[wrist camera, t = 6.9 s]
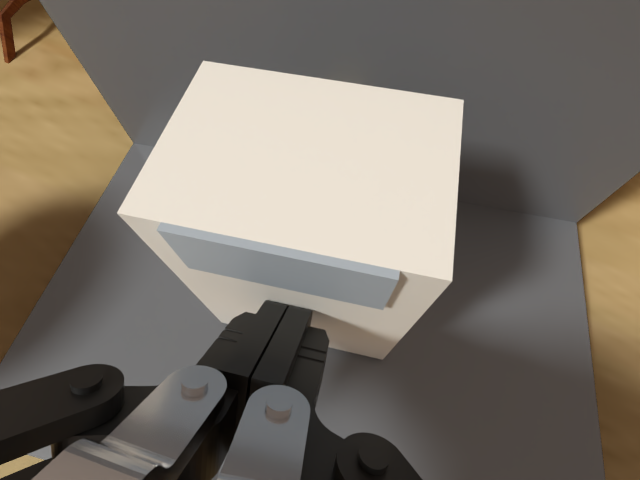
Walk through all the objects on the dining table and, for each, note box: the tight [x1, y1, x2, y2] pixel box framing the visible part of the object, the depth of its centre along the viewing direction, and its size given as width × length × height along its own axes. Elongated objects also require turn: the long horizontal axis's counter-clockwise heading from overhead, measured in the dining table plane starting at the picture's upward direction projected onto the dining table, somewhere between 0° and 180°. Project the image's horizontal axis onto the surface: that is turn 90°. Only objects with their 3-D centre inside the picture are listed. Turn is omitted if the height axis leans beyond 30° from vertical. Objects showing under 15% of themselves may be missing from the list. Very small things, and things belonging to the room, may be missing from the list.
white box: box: [117, 61, 464, 360], centre depth 12 cm, size 7×5×9 cm
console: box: [0, 0, 640, 480], centre depth 12 cm, size 24×20×14 cm
